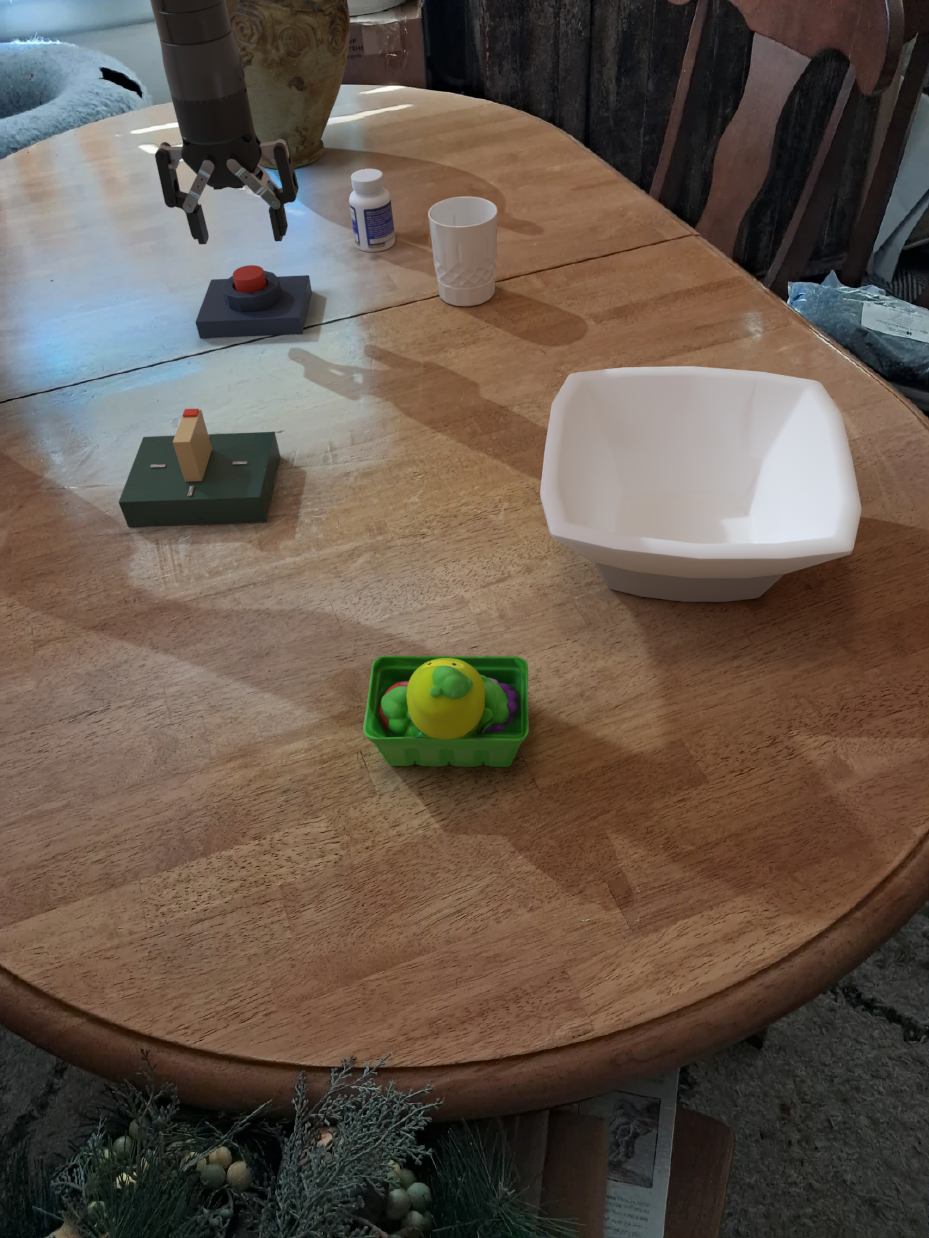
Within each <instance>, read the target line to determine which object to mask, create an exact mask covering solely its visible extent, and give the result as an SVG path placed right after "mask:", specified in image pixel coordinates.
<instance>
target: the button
mask: <svg viewBox="0 0 929 1238" xmlns="http://www.w3.org/2000/svg"><path fill="white" fill-rule="evenodd" d="M264 271H265V270H264V268H263V267H261V266H260V265H257V264H256V265H255V264H248V265H243V266H240V267H237V268H236V269H235V270H234V271H233V272H232V276H233V279H234V283H235V288H236V290H237V291H238V292H242V293H250V292H255V291H259V290H262V289H263V288H264V287H266V285H267V284H266V279H265V274H264Z"/></svg>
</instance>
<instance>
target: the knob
mask: <svg viewBox="0 0 929 1238" xmlns="http://www.w3.org/2000/svg"><path fill="white" fill-rule="evenodd" d="M208 434H209V432H208V429H207V425H206V422H205V419H204V415H203V412H202V409H199V408H184V410H183V412H182V416H181V419H180V421H179V424H178V427H177V429H176V433H175V435H174V436H175V437H174V440H173V445H174V448H175V451H176V454H177V457H178V461H179V464H180V467H181V470H182V473H183V476H184V479H185V482H194V481H202V479H203V476H204V473H205V470H206V467H207V464H208V461H209V457H210V454H211V451H212V446H211V442H210V439H209V435H208Z"/></svg>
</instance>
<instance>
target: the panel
mask: <svg viewBox="0 0 929 1238" xmlns="http://www.w3.org/2000/svg"><path fill="white" fill-rule="evenodd" d="M208 435H209V439H210V442H211V446H212V451H211V454H210V457H209V461H208V464H207V467H206V470H205V473H204V476H203V479H202V481H194V482H185V479H184V476H183V473H182V470H181V467H180V464H179V461H178V457H177V454H176V451H175V448H174V445H173V440H174V437H175V435H154V436H153V435H152V436H143V437H142V440H141V442H140V444H139V448H138V449H137V453H136V455H135V458H134V461H133V463H132V465H131V467H130V471H129V473H128V477H127V479H126V482H125V484H124V486H123V490H122V492H121V495H120V497H119V500H118V504H119V507H120V509H121V513H122V515H123V517H124V520H125V522H126V525H127V527H129V528H130V527H133V528H134V527H161V526H162V527H163V526H187V525H188V526H190V525H215V524H217V525H219V524H245V523H266V522H267V520H268V515H269V511H270V507H271V501H272V496H273V493H274V492H273V491H274V486H275V482H276V478H277V473H278V469H279V464H280V459H281V454H280V448H279V444H278V439H277V435H276V431H259V432H257V431H256V432H255V431H254V432H231V433H208Z"/></svg>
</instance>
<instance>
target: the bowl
mask: <svg viewBox="0 0 929 1238" xmlns="http://www.w3.org/2000/svg"><path fill="white" fill-rule="evenodd" d="M548 419H549V420H548V424H547V425H548V426H547V432H546V439H545V445H544V454H543V463H542V472H541V481H540V489H539V497H540V501H541V505H542V510H543V512H544V517H545V520H546V524H547V529H548V531H549V532H548V533H549V535H550V537H551V538H552V539H553V540H555V541H557V542H558V543H560V544H562V545H563V546H565V547H566V548H568V549H570V550H571V551H574V552H576V553H577V554H579V555H581V556H583V558H586V559H587V560H589V561H590V562H593V563H594V564H595V566H596V567H597V570H598V571H599V573H600V575H601V577H602V579H603V581H604V583H605V584H606V586H607V588H608V589H610V590H613V591H616V592H622V593H626V594H629V595H633V596H638V597H643V598H649V599H650V598H651V599H658V600H667V601H675V602H683V603H686V602H687V603H695V602H696V603H705V602H706V603H724V602H725V603H727V602H728V603H729V602H736V601H746V600H752V599H753V600H754V599H758V598H760V597H761V596H762V595H764V594H765V593H766V592H767V591H768V590H769V589H770V588H771V587H772V586H773V585H774V584H775V583H777V582H778V581H779V580H780V579H781V578H782V577H783V576H784V575H788V574H790V573H794V572H798V571H801V570H804V569H806V568H810V567H814V566H816V565H820V564H823V563H827V562H830V561H833V560H837V559H840V558H843V557H846V556H849V555H852V553H853V550H854V548H855V544H856V538H857V534H858V530H859V525H860V519H861V514H862V509H863V508H862V503H861V497H860V491H859V488H858V482H857V476H856V471H855V466H854V460H853V456H852V451H851V447H850V443H849V439H848V434H847V431H846V427H845V422H844V418H843V414H842V413H841V411H840V409H839V408H838V406H837V405H836V403H835V402H834V400H833V399H832V397H831V395H830V394H829V393H828V391H827V390H826V388H825V386H824V385H823V384H822V383H821V382H820V381H818V380H816V379H815V380H814V379H808V378H803V377H797V376H792V375H791V376H790V375H785V374H778V373H773V372H768V371H758V370H746V369H745V370H744V369H732V368H720V367H708V366H707V367H706V366H694V365H687V366H685V365H684V366H683V365H682V366H681V365H680V366H625V367H615V368H606V369H596V370H586V371H577V372H572V373H570V374H568V375H567V377H566V379H565V380H564V382H563V383H562V385H561V387H560V389H559V391H558V393H557V394H556V396H555V397H554V399H553V401H552V402H551V407H550V413H549V418H548Z"/></svg>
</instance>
